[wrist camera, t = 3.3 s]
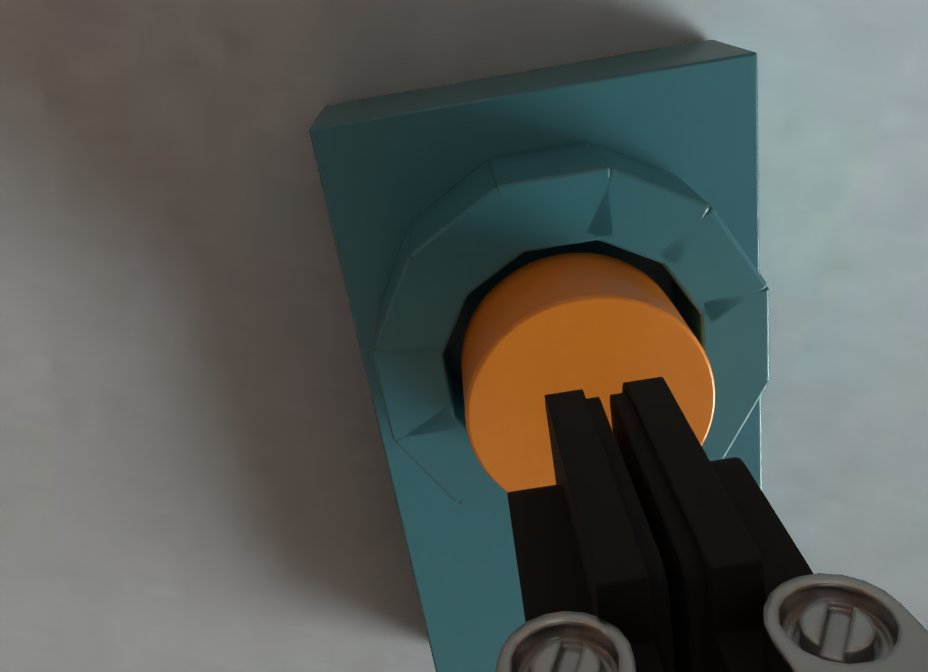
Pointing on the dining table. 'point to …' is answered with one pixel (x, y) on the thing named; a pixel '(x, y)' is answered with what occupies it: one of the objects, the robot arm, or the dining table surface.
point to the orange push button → (570, 356)
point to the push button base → (526, 240)
